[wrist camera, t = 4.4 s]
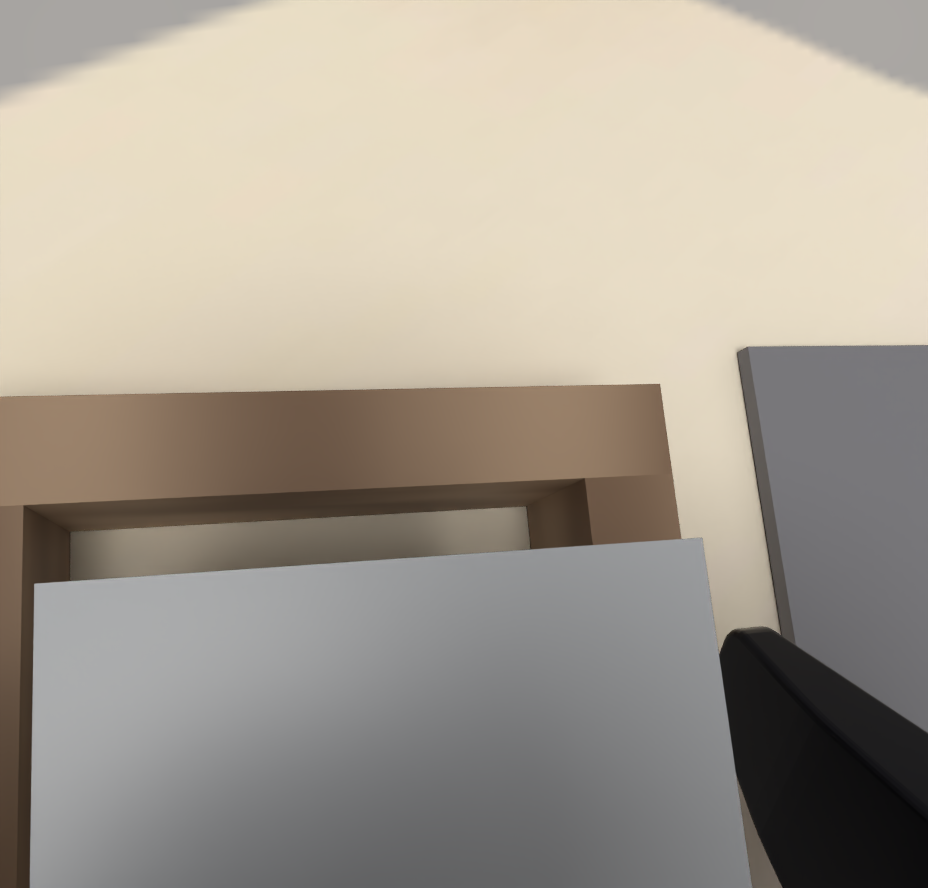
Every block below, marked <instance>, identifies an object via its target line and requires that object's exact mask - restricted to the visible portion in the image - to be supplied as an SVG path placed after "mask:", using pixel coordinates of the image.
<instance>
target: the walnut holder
mask: <svg viewBox="0 0 928 888" xmlns="http://www.w3.org/2000/svg"><path fill="white" fill-rule="evenodd" d="M520 506H527V513H528V523H529V533H530V543H531V549H545V548H560V547H574V546H589V545H603V544H618V543H632V542H647V541H661V540H676V539H681V534H680V526H679V519H678V512H677V504H676V497H675V490H674V483H673V475H672V468H671V461H670V454H669V446H668V439H667V432H666V425H665V417H664V410H663V403H662V395H661V388H660V384H634V385H582V386H531V387H479V388H427V389H375V390H323V391H272V392H220V393H168V394H116V395H65V396H13V397H0V888H30V836H31V770H32V705H33V639H34V584H38V583H52V582H67V581H70V532H72V531H90V530H108V529H126V528H144V527H161V526H179V525H197V524H215V523H233V522H251V521H269V520H287V519H305V518H323V517H341V516H359V515H377V514H395V513H413V512H431V511H448V510H466V509H484V508H502V507H520Z"/></svg>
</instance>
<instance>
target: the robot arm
mask: <svg viewBox="0 0 928 888" xmlns="http://www.w3.org/2000/svg"><path fill="white" fill-rule="evenodd" d="M719 659H720V666H721V673H722V680H723V687H724V694H725V701H726V708H727V715H728V722H729V729H730V736H731V743H732V750H733V757H734V764H735V771H736V775H737V778H738V781H739V784H740V787H741V789H742V792H743V795H744V798H745V801H746V803H747V806H748V809H749V812H750V815H751V817H752V820H753V822H754V825H755V827H756V830H757V833H758V835H759V838H760V840H761V842H762V844H763V847H764V849H765V851H766V853H767V856H768V858H769V860H770V862H771V864H772V866H773V868H774V871H775V873H776V875H777V877H778V879H779V881H780V883H781V885H782V888H928V732H926V731H925V730H923V729H922V728H920V727H919V726H917V725H916V724H914V723H913V722H911V721H910V720H908V719H907V718H905V717H904V716H902V715H901V714H899V713H898V712H896V711H895V710H893V709H892V708H890V707H889V706H887V705H886V704H884V703H883V702H881V701H880V700H878V699H877V698H875V697H874V696H872V695H871V694H869V693H868V692H866V691H865V690H863V689H862V688H860V687H858V686H857V685H855V684H854V683H852V682H851V681H849V680H848V679H846V678H845V677H843V676H842V675H840V674H839V673H837V672H836V671H834V670H833V669H831V668H830V667H828V666H827V665H825V664H824V663H822V662H821V661H819V660H818V659H816V658H815V657H813V656H812V655H810V654H809V653H807V652H806V651H804V650H803V649H801V648H800V647H798V646H797V645H795V644H794V643H792V642H791V641H789V640H788V639H786V638H785V637H783V636H782V635H780V634H779V633H777V632H776V631H774V630H772V629H770V628H767V627H750V628H740V629H735V630H732V631H731V632H730V633H729V634H728V635H727V636H726V638H725V640H724V643H723V646H722V649H721V651H720V654H719Z"/></svg>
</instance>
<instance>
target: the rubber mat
mask: <svg viewBox="0 0 928 888" xmlns="http://www.w3.org/2000/svg"><path fill="white" fill-rule="evenodd" d="M738 359H739V366H740V372H741V378H742V385H743V391H744V397H745V404H746V410H747V416H748V423H749V429H750V436H751V442H752V448H753V455H754V461H755V467H756V474H757V480H758V486H759V493H760V499H761V505H762V512H763V518H764V524H765V531H766V537H767V543H768V550H769V556H770V562H771V569H772V575H773V581H774V588H775V594H776V600H777V607H778V613H779V619H780V626H781V632H782V636H783V637H785V638H786V639H788V640H789V641H791V642H792V643H794V644H795V645H797V646H798V647H800V648H801V649H803V650H804V651H806V652H807V653H809V654H810V655H812V656H813V657H815V658H816V659H818V660H819V661H821V662H822V663H824V664H825V665H827V666H828V667H830V668H831V669H833V670H834V671H836V672H837V673H839V674H840V675H842V676H843V677H845V678H846V679H848V680H849V681H851V682H852V683H854V684H855V685H857V686H858V687H860V688H862V689H863V690H865V691H866V692H868V693H869V694H871V695H872V696H874V697H875V698H877V699H878V700H880V701H881V702H883V703H884V704H886V705H887V706H889V707H890V708H892V709H893V710H895V711H896V712H898V713H899V714H901V715H902V716H904V717H905V718H907V719H908V720H910V721H911V722H913V723H914V724H916V725H917V726H919V727H920V728H922V729H923V730H925V731H926V732H928V345H908V346H778V347H747V348H745V349H743V350H741V351H740V352H738Z"/></svg>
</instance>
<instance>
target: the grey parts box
mask: <svg viewBox="0 0 928 888" xmlns="http://www.w3.org/2000/svg"><path fill="white" fill-rule="evenodd" d="M30 888H752V883H751V876H750V869H749V862H748V855H747V848H746V841H745V834H744V827H743V820H742V813H741V806H740V799H739V792H738V785H737V778H736V771H735V764H734V757H733V750H732V743H731V736H730V729H729V722H728V715H727V708H726V701H725V694H724V687H723V680H722V673H721V666H720V659H719V652H718V645H717V638H716V631H715V624H714V617H713V610H712V603H711V596H710V589H709V582H708V575H707V568H706V561H705V554H704V547H703V539H702V538H690V539H676V540H661V541H647V542H632V543H618V544H603V545H589V546H574V547H560V548H545V549H531V550H516V551H502V552H487V553H473V554H458V555H444V556H429V557H415V558H400V559H386V560H371V561H357V562H342V563H328V564H313V565H299V566H284V567H270V568H255V569H241V570H226V571H212V572H197V573H183V574H168V575H154V576H139V577H125V578H110V579H96V580H81V581H67V582H52V583H38V584H34V639H33V705H32V770H31V836H30Z"/></svg>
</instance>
